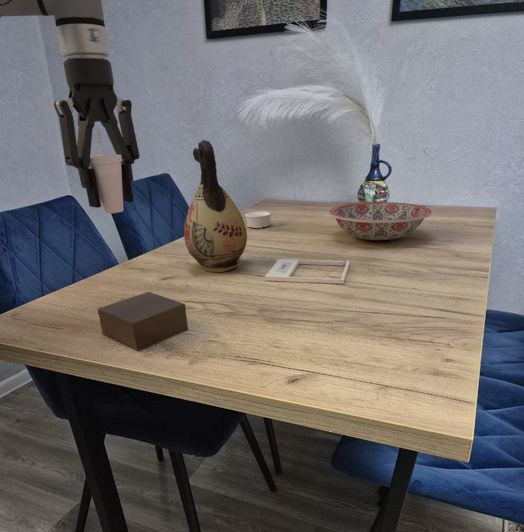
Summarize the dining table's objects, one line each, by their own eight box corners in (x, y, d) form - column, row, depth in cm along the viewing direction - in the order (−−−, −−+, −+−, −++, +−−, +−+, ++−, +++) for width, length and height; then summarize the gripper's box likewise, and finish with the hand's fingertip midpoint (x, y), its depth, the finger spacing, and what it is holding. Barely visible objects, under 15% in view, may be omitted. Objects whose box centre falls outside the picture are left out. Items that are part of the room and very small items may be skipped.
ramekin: (245, 229, 158) (244, 216, 156) (246, 224, 166) (245, 211, 164) (271, 228, 158) (271, 215, 156) (271, 223, 166) (270, 210, 164)
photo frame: (278, 258, 121) (349, 260, 117) (279, 262, 121) (349, 264, 117) (264, 275, 108) (343, 278, 104) (265, 280, 109) (343, 283, 105)
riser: (102, 334, 86) (97, 308, 83) (152, 315, 93) (148, 291, 90) (137, 350, 79) (132, 323, 77) (188, 329, 86) (185, 303, 84)
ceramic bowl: (335, 226, 157) (336, 201, 153) (427, 228, 150) (430, 202, 146) (321, 249, 132) (321, 220, 129) (430, 252, 125) (434, 221, 121)
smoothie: (129, 207, 92) (116, 128, 86) (132, 212, 87) (118, 128, 80) (95, 210, 90) (79, 130, 84) (96, 216, 85) (79, 130, 78)
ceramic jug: (184, 262, 125) (170, 139, 112) (241, 256, 128) (234, 136, 115) (192, 281, 111) (177, 142, 97) (256, 274, 114) (249, 138, 100)
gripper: (40, 53, 69) (74, 214, 79) (148, 59, 82) (165, 197, 92) (18, 58, 73) (53, 210, 84) (123, 63, 86) (142, 195, 96)
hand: (112, 203), depth 88 cm, fingers closed on smoothie, 6 cm apart
